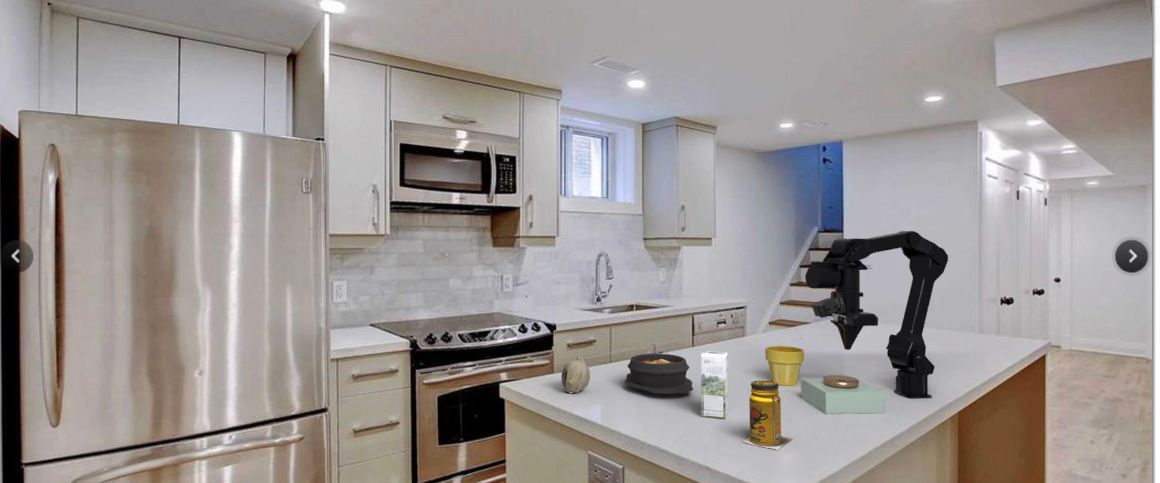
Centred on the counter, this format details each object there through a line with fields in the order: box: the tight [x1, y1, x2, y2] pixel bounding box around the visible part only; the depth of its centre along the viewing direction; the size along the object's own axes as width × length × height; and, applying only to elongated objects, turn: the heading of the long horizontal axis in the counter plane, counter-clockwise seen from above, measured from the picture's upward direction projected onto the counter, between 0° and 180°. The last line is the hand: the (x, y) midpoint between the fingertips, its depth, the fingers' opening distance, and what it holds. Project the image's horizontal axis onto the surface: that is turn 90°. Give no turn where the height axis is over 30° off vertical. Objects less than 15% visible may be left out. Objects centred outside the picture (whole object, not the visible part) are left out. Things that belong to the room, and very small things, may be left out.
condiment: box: [742, 379, 793, 451], centre depth 118 cm, size 7×8×12 cm
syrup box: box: [700, 350, 729, 419], centre depth 135 cm, size 6×6×14 cm
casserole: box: [624, 353, 694, 395], centre depth 160 cm, size 25×19×8 cm
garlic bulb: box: [561, 356, 591, 394], centre depth 158 cm, size 9×8×10 cm
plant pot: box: [765, 345, 805, 386], centre depth 165 cm, size 10×10×10 cm
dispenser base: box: [800, 377, 886, 415], centre depth 143 cm, size 14×14×5 cm
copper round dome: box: [822, 374, 860, 388], centre depth 143 cm, size 8×8×5 cm
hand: (847, 349), depth 147 cm, fingers closed
